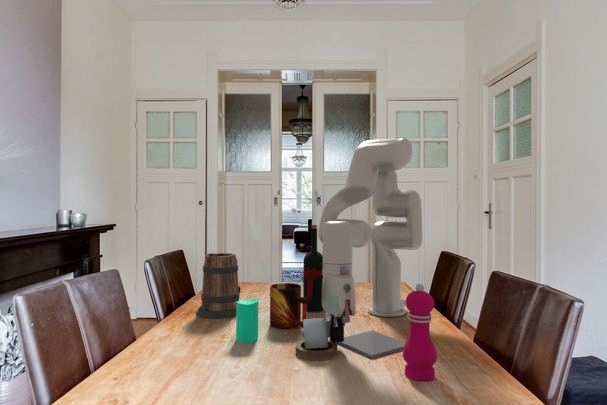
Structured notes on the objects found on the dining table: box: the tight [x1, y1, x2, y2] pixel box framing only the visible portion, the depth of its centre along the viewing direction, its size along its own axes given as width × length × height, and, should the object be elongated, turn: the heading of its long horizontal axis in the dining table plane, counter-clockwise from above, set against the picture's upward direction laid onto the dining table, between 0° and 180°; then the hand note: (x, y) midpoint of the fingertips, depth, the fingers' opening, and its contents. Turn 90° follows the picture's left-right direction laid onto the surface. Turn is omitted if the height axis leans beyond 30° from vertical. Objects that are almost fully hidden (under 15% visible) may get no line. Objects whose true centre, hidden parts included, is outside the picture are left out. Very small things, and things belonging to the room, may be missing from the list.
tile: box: [337, 330, 406, 360], centre depth 108 cm, size 14×14×1 cm
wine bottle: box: [302, 224, 325, 313], centre depth 143 cm, size 8×10×30 cm
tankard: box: [194, 252, 241, 320], centre depth 143 cm, size 24×17×20 cm
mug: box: [269, 282, 308, 330], centre depth 125 cm, size 10×14×12 cm
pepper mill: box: [402, 283, 438, 382], centre depth 89 cm, size 7×7×20 cm
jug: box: [302, 317, 331, 350], centre depth 104 cm, size 10×6×7 cm, turn 116°
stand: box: [295, 339, 338, 362], centre depth 102 cm, size 10×10×2 cm
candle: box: [235, 295, 259, 344], centre depth 112 cm, size 6×6×12 cm
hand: (336, 341), depth 103 cm, fingers closed
